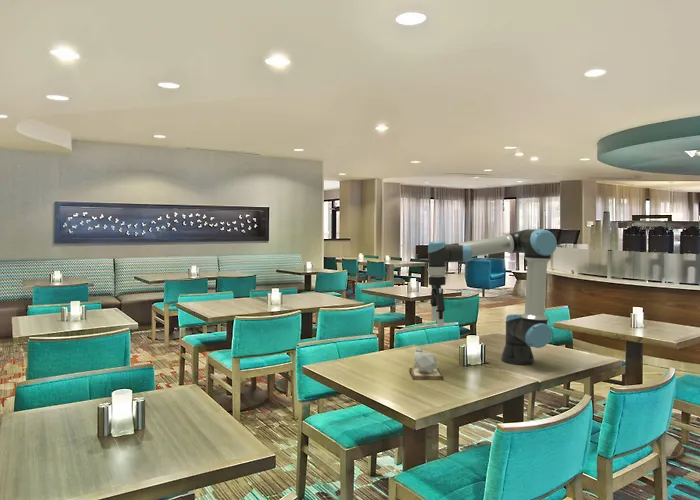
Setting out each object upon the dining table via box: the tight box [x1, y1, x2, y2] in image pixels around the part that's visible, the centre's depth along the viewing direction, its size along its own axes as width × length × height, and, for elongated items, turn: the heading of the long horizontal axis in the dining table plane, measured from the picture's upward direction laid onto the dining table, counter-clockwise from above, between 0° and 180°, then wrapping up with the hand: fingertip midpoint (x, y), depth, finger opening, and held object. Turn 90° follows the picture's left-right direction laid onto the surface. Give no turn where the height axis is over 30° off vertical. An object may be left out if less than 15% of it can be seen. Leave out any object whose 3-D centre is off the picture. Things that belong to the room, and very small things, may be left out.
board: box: [408, 367, 444, 381], centre depth 222 cm, size 13×13×2 cm
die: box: [416, 352, 438, 374], centre depth 221 cm, size 8×9×10 cm
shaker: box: [414, 348, 424, 368], centre depth 236 cm, size 4×4×8 cm
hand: (437, 323), depth 225 cm, fingers open, 13 cm apart
